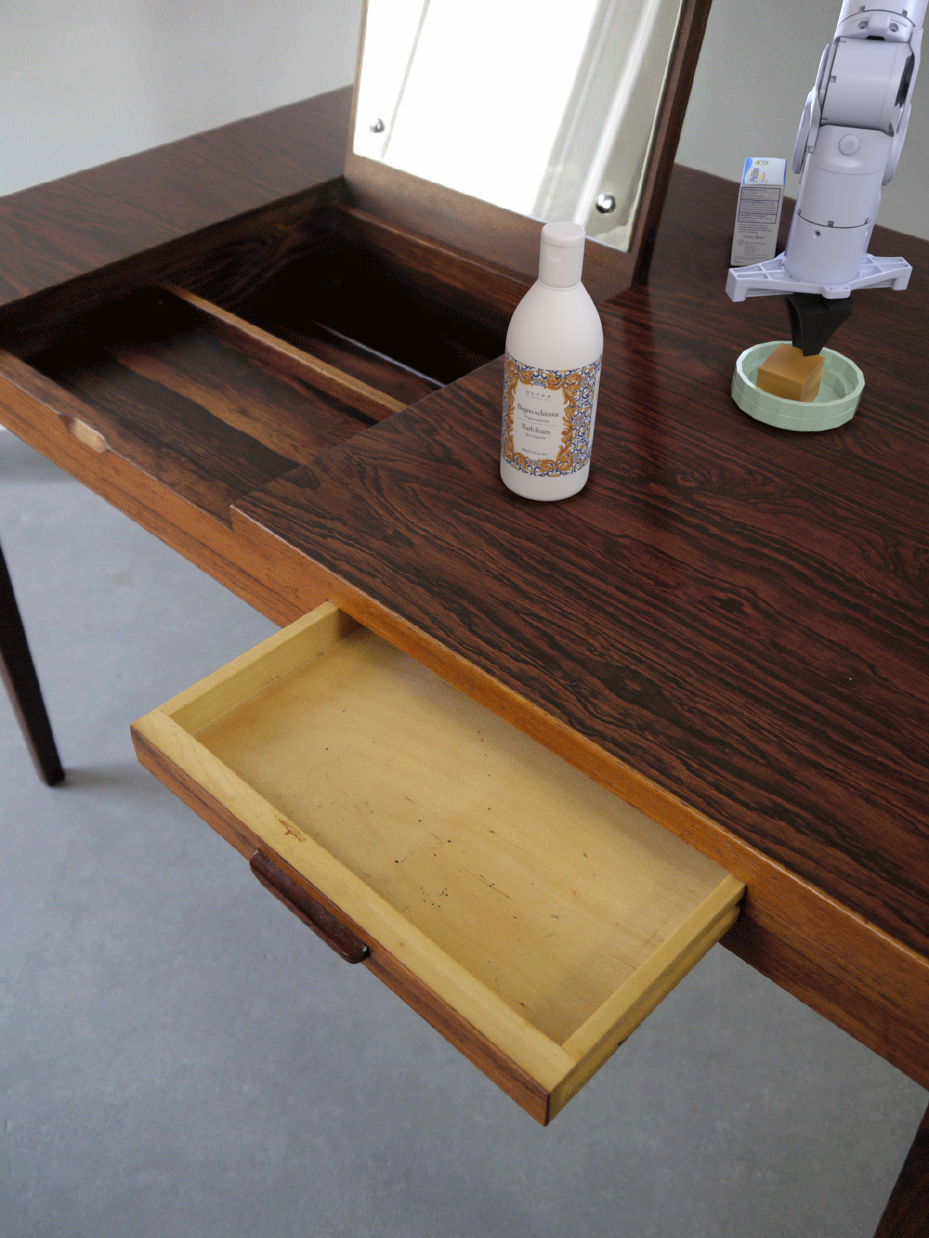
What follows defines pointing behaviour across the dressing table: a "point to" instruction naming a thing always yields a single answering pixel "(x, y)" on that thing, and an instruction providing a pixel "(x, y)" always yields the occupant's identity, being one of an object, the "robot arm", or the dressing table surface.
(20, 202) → the dressing table surface
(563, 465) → the bath foam
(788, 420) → the bowl
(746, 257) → the medicine box
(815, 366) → the block
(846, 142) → the robot arm
